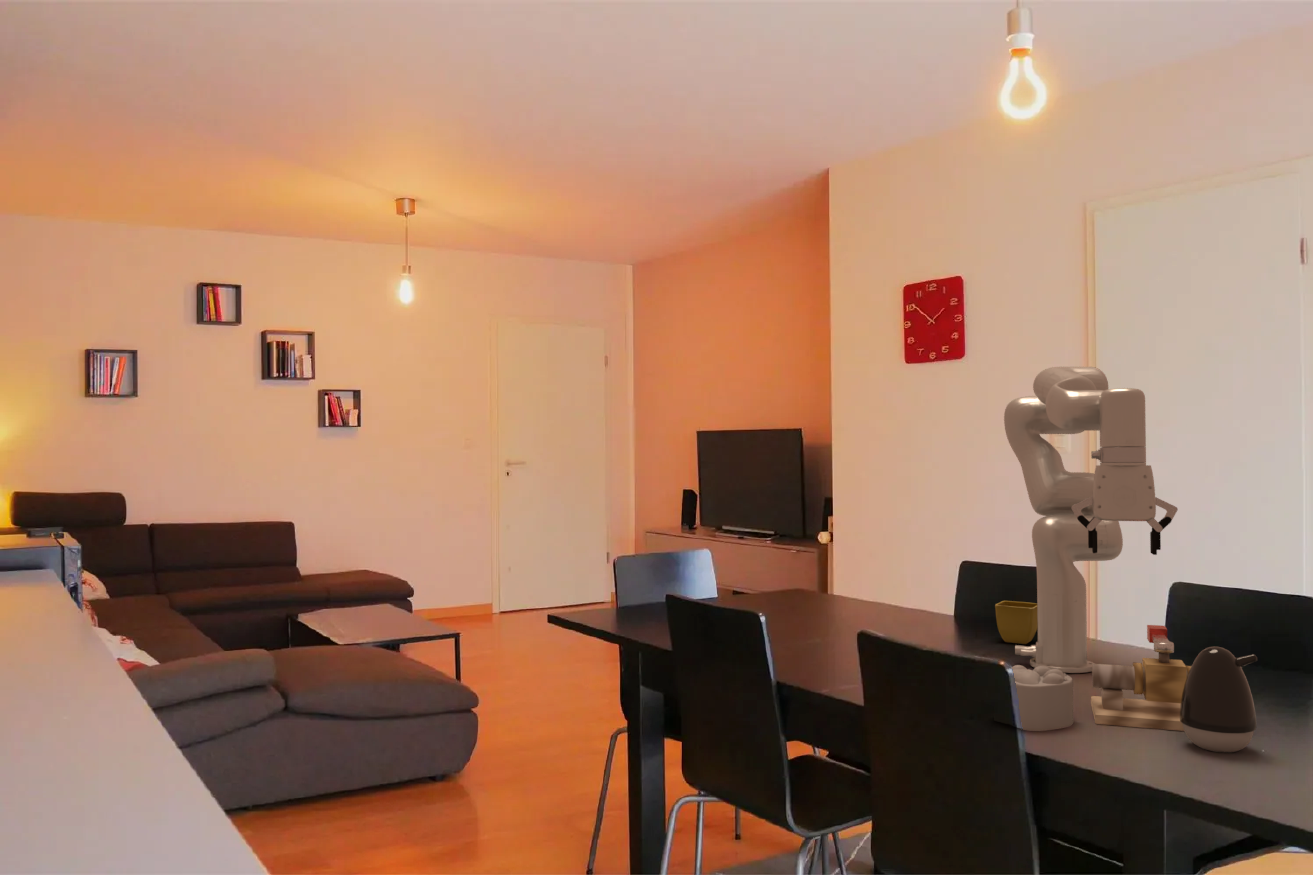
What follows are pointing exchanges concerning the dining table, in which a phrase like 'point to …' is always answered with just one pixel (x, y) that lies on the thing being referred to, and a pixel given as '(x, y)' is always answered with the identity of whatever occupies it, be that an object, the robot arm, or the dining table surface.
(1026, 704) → the lumpy-topped squat cylinder
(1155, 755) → the dining table surface
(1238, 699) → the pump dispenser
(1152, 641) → the valve lever
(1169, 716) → the valve bench
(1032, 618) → the flower pot
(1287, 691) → the dining table surface
